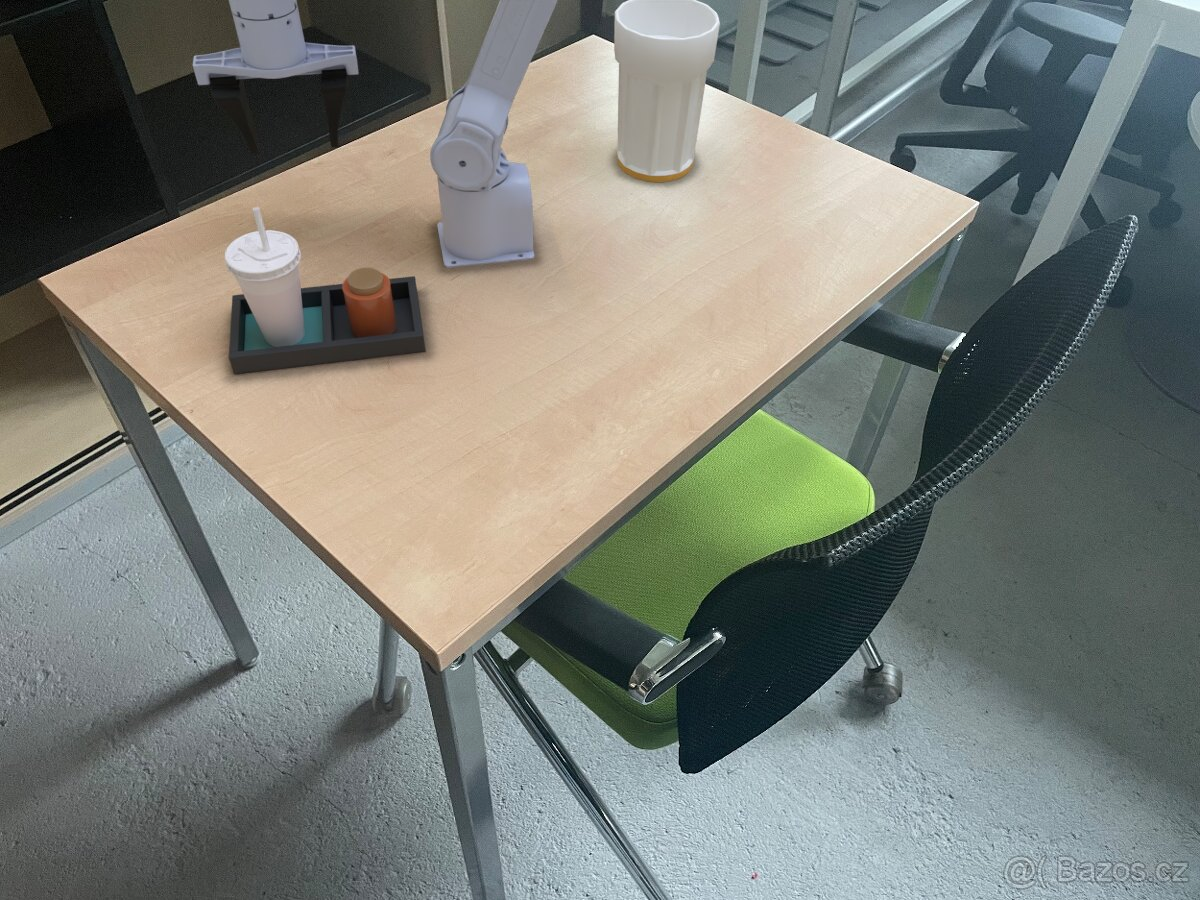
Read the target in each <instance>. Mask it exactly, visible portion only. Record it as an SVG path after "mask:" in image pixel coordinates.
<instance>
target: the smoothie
mask: <svg viewBox="0 0 1200 900" xmlns="http://www.w3.org/2000/svg"><path fill="white" fill-rule="evenodd" d="M252 213H253V216H254V220H255V223H256V227H257V230H256V231H252V232H248V233H246V234H243V235H241V236H239V237H237V238H235V239H234V240H232V242H231V243H229V245H228V246H227V247H226V249H225V250H224V261H225V266H226V269H227V271H228V272H229V273H230V274H231V275H232V276H233V277H234V278H235V280H236V282H237V284H238V286H239V288H240V290H241V292H242V294H244V296H245V298H246V300H247V303H248V305H249V307H250V309H251V311H252V313H253V315H254V317H255V319H256V321H257V323H258V325H259V328H260V330H261V332H262V334H263V336H264V338H265V340H266V342H267V343H268V344H270V345H272V346H274V347H282V346H290V345H295V344H296V343H298V342H299V341H301V340H302V338H303V337H304V335H305V329H304V318H303V308H302V297H301V288H302V287H301V277H300V276H301V275H300V266H299V263H300V261H301V259H302V252H301V250H300V247H299V243H298V241H297V239H296V238H295V237H293V236H292V235H291V234H289V233H286V232H283V231H280V230H274V229H273V230H272V229H266V228H265V224H264V220H263V217H262V213H261V210H260V207H259V206H254V207H252Z"/></svg>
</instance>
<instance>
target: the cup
mask: <svg viewBox="0 0 1200 900" xmlns="http://www.w3.org/2000/svg"><path fill="white" fill-rule="evenodd" d="M720 24H721V22H720V18H719V14H718V12H716V10H714V9H713V8H712V7H711V6H709V5H708V3H704V2H701V1H699V0H627V1H624V2H622V3H621V4H620V5H619V6H618V7H617V9H615V10H614V27H613V29H614V36H613V39H614V40H613V52H614V60H615V61H616V62H617V63H618V90H617V91H618V93H617V94H618V96H617V101H618V102H617V107H618V108H617V155H616V158H617V165H618V167H619V169H621V171H623V173H625V174H627V175H628V176H630V177H633V178H634V179H638V180H641V181H644V182H648V183H664V182H665V183H666V182H671V181H675V180H679V179H680V178H682V177H684V176H686V175H687V174H689V173H690V171H691V169H692V168H693V166H694V160H695V159H694V158H695V155H696V154H695V153H696V147H697V140H698V134H699V127H700V121H701V115H702V108H703V101H704V94H705V88H706V81H707V76H708V75H707V74H708V71H709V69H710V68H711V66H712V65H713V63H714V62H715V57H716V50H717V43H718V38H719V31H720V26H721V25H720Z"/></svg>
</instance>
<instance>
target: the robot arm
mask: <svg viewBox="0 0 1200 900" xmlns="http://www.w3.org/2000/svg"><path fill="white" fill-rule="evenodd" d="M558 1H559V0H499V2H498V4H497V6H496V9H495V11H494V15H493V17H492V20H491V22H490V24H489V27H488V29H487V32H486V34H485V36H484V38H483V39H484V40H483V42H482V45H481V47H480V48H479V52H478V54H477V57H476V59H475V62H474V64H473V67H472V68H471V70H470V72H469V75H468V78H467V79H466V81H465V83H464V84H463V86H462V87H461V88H459V89H458V90H457V91H455V92H454V93H453V94H452V95H451V96H450V98H449V99H448V101H447V103H446V106H445V114H444V117H443V120H442V123H441V125H440V127H439V131H438V134H437V137H436V138H435V140H434V141H433V144H432V146H431V149H430V153H429V158H430V159H429V160H430V165H431V167H432V170H433V172H434V173H435V175H436V176H437V186H438V195H439V196H438V197H439V205H440V213H441V214H440V216H441V221H439V222H438V223H437V224H436V227H437V231H438V238H439V245H440V250H441V254H442V260H443V266H444V267H445V268H447V269H451V268H453V269H454V268H462V267H470V266H471V267H472V266H481V265H490V264H499V263H508V262H509V263H510V262H518V261H519V262H521V261H529V260H533V259H535V252H534V251H535V250H534V215H533V213H534V211H533V210H534V209H533V208H534V207H533V194H532V184H531V179H530V173H529V170H528V166H527V165H526V163H523V162H512V161H509V160H508V159H507V156H506V154H505V152H504V150H503V148H502V145H503V139H504V136H505V134H506V132H507V129H508V126H509V114H510V111H511V108H512V105H513V102H514V101H515V98H516V96H517V93H518V92H519V89H520V86H521V85H522V83H523V80H524V77H525V75H526V73H527V71H528V69H529V66H530V65H531V62H532V60H533V57H534V56H535V53H536V51H537V49H538V46H539V44H540V42H541V40H542V36H543V35H544V33H545V30H546V28H547V26H548V25H549V24H548V23H549V21H550V19H551V16H552V14H553V12H554V10H555V8H556V5H557V4H558ZM228 4H229V7H230V11H231V15H232V19H233V23H234V28H235V32H236V35H237V40H238V43H239V47H235V48H231V49H226V50H223V51H218V52H214V53H207V54H200V55H199V54H198V55H194V56H193V58H192V68H193V72H194V76H195V79H196V82H197V85H198V86H207V85H208V86H209V85H210V88H211V97H212V99H213V101H214V102H215V104H216V105H217V106H218V107H219V108H220V109H221V110H222V111H223V112H224V113H225V114H226V115H227V116H228V118H230V120H231V121H232V123H233V124H234V125H235V127H236V128H237V130H238V131H239V133H240V134H241V136H242V138H243V139H244V141H245V143H246V145H247V147H248V149H249V152H250V153H251V154H252V155H257V154H258V155H259V154H260V141H259V135H258V132H257V128H256V126H255V125H256V124H255V122H254V120H253V117H252V113H251V110H250V106H249V102H248V96H247V92H246V88H245V83H244V80H247V79H267V80H268V79H269V80H271V79H272V80H273V79H274V80H276V79H285V78H289V77H293V76H307V75H320V90H321V95H322V98H323V103H324V107H325V112H326V117H327V124H328V125H327V126H328V134H329V135H328V136H329V143H330V147H331V148H332V149H333V148H339V146H340V145H339V125H340V118H341V114H342V111H343V110H342V109H343V105H344V103H345V100H346V97H347V95H348V89H349V79H348V76H354V75H360V73H359V63H358V58H357V52H356V51H357V50H356V46H355V45H334V44H324V43H323V44H322V43H315V42H314V43H313V42H305V36H304V32H303V27H302V22H301V16H300V12H299V6H298V1H297V0H228Z"/></svg>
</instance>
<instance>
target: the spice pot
mask: <svg viewBox="0 0 1200 900" xmlns="http://www.w3.org/2000/svg"><path fill="white" fill-rule="evenodd" d="M389 279H390V277H388V276H387V275H386V274H384V273H383V272H381V271H380V270H379V269H377V268H374V267H361V268H357V269H355V270H353V271H351V272H350V273H349V275H348V276H347V277H346V278H345V279H344V281H343V283H342V284H343V285H342V289H343V294H344V299H345V304H346V309H347V313H348V318H349V323H350V328H351V332H352V333H353V335H354V336H356V337H357V338H360V337H369V336H377V335H386V334H392V333H393V332H394V331H395V330H396V327H397V321H396V315H395V308H394V302H393V296H392V290H391V283H390V280H389Z"/></svg>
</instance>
